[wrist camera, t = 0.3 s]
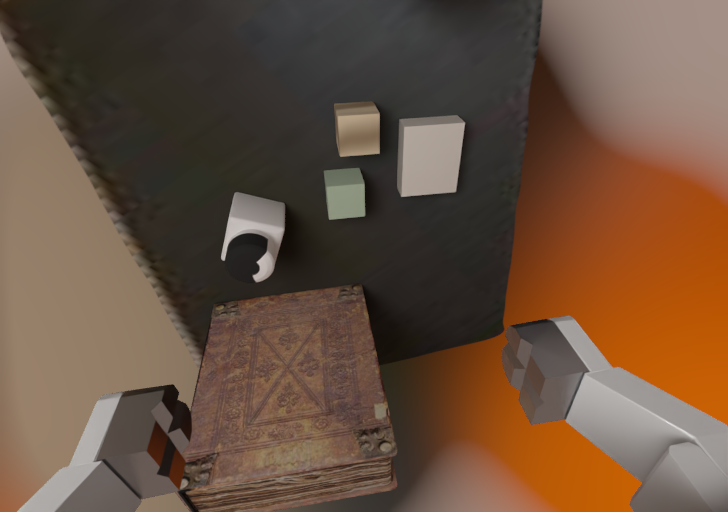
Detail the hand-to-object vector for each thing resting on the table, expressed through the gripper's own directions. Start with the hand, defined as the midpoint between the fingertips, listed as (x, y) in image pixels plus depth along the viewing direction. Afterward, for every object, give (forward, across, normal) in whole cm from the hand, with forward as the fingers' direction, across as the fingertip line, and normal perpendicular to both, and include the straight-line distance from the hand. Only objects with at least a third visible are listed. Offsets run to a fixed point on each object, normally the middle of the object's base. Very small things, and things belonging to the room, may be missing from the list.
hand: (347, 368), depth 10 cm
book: (+47, +9, +42) cm, 63 cm away
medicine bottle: (+46, +11, +22) cm, 53 cm away
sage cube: (+46, -2, +19) cm, 50 cm away
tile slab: (+46, -15, +16) cm, 51 cm away
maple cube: (+46, -5, +10) cm, 48 cm away
